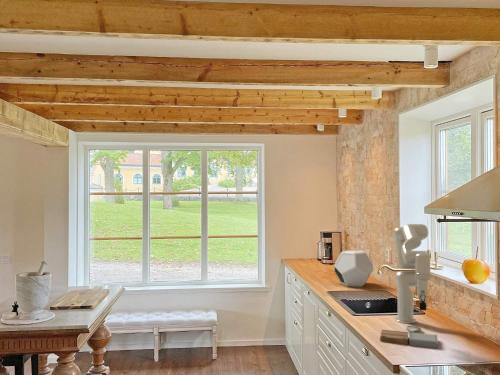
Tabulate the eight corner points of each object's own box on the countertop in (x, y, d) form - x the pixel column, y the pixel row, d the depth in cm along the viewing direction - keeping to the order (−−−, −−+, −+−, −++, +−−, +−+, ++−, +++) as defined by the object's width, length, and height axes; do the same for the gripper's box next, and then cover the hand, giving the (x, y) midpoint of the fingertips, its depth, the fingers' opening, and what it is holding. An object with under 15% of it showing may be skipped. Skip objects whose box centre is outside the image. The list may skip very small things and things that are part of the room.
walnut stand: (381, 335, 258) (381, 329, 258) (407, 337, 254) (407, 332, 254) (380, 342, 245) (380, 336, 245) (407, 345, 240) (407, 339, 240)
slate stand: (409, 337, 253) (409, 331, 253) (436, 340, 248) (436, 334, 248) (409, 345, 240) (409, 339, 240) (438, 348, 235) (438, 342, 235)
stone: (403, 329, 267) (403, 324, 267) (418, 330, 267) (418, 324, 267) (411, 335, 255) (411, 329, 255) (427, 336, 255) (427, 330, 255)
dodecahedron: (380, 287, 389) (380, 252, 390) (341, 289, 383) (341, 254, 383) (363, 280, 422) (363, 248, 423) (327, 282, 416) (327, 249, 416)
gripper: (415, 272, 254) (415, 303, 255) (415, 278, 238) (415, 311, 238) (429, 273, 252) (429, 304, 252) (430, 279, 236) (430, 312, 236)
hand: (422, 307), depth 245 cm, fingers open, 9 cm apart
